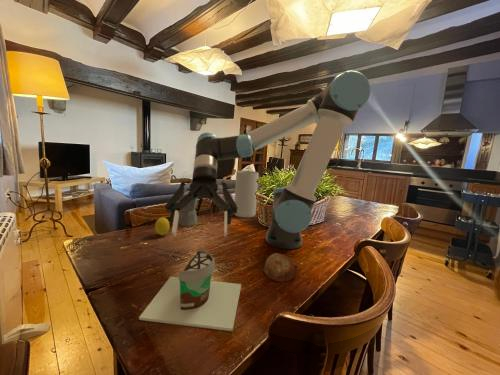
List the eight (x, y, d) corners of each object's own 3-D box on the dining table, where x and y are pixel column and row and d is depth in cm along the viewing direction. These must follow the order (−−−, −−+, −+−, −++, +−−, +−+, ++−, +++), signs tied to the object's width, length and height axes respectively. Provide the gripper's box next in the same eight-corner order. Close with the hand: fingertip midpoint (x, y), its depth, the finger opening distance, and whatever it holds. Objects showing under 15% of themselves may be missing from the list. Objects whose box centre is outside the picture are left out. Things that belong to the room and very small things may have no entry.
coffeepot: (170, 222, 110) (171, 185, 107) (185, 218, 118) (186, 184, 115) (194, 230, 102) (195, 190, 100) (208, 225, 110) (209, 188, 108)
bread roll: (265, 275, 76) (257, 254, 75) (294, 263, 77) (286, 242, 75) (271, 293, 67) (261, 270, 65) (303, 280, 67) (294, 256, 65)
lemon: (172, 234, 95) (172, 216, 94) (163, 239, 90) (163, 219, 89) (161, 232, 97) (161, 214, 96) (151, 236, 92) (151, 217, 91)
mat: (241, 286, 63) (241, 284, 63) (232, 331, 47) (232, 328, 47) (170, 278, 64) (170, 276, 64) (139, 319, 48) (139, 317, 48)
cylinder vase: (256, 213, 137) (260, 172, 133) (253, 219, 125) (256, 173, 121) (236, 211, 139) (239, 170, 135) (231, 216, 127) (233, 171, 123)
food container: (205, 318, 49) (206, 275, 48) (177, 314, 50) (178, 271, 48) (218, 285, 61) (220, 250, 60) (196, 282, 62) (198, 247, 60)
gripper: (242, 180, 78) (244, 239, 66) (167, 178, 75) (154, 239, 63) (244, 166, 72) (247, 228, 60) (162, 163, 69) (147, 228, 57)
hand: (200, 234), depth 61 cm, fingers open, 13 cm apart
